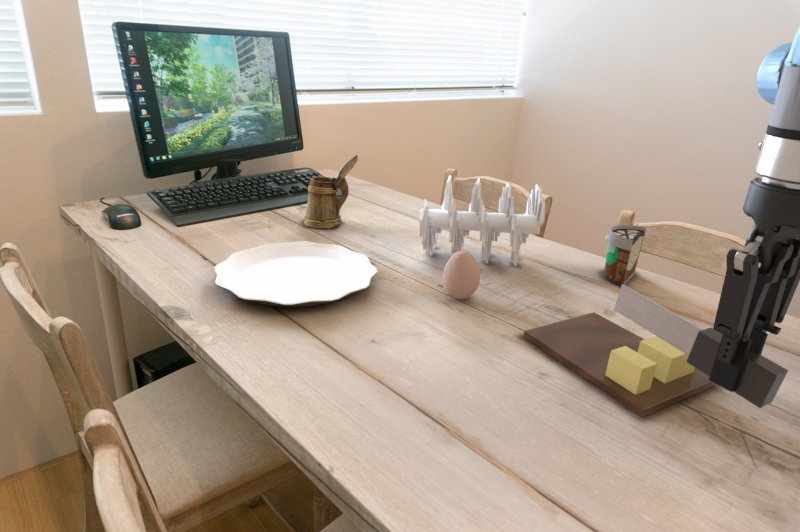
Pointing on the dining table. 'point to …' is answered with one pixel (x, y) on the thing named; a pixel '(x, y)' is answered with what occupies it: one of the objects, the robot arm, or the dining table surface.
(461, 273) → the egg
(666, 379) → the butter bar
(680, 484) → the dining table surface
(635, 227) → the food container
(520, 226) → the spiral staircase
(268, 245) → the plate
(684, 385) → the cutting board
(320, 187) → the wooden mug
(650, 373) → the butter slice
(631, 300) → the knife
